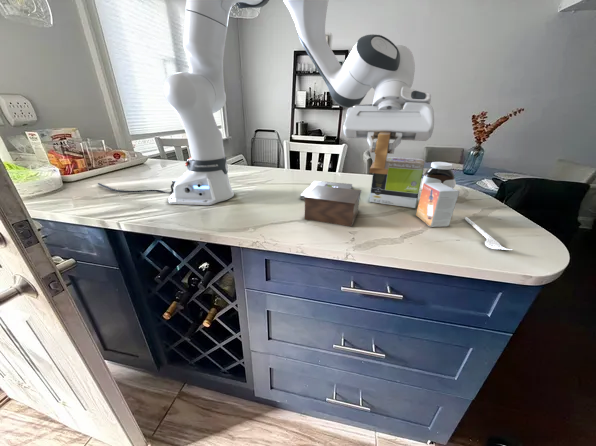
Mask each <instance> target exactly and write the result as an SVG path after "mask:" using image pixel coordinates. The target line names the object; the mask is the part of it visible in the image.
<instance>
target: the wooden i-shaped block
mask: <svg viewBox="0 0 596 446" xmlns="http://www.w3.org/2000/svg"><path fill="white" fill-rule="evenodd" d="M390 136H391V132H380V133H379V134H378V139H376V148H375V153H374V161H372V163H371V166H370V167H369V174H373V173H376V174H388V169H389V163H386V161H387V157H388V154H389V153H387V152H388V146H389V143H391V140H390Z"/></svg>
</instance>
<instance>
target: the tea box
mask: <svg viewBox="0 0 596 446" xmlns="http://www.w3.org/2000/svg"><path fill="white" fill-rule="evenodd" d="M386 163H389V169H388V174H376V173H372V179H371V184H370V185H371V186H370V194H369V202H370V203H375V204H381V205H390V206H397V207H405V208H410V209H416V208H417V204H418V202H417V201H418V200H419V199H418V198H419V193H420V190H421V189H420V188H421V185H422V181H423V176H424V169H425V158H418V157H417V158H416V157H402V156H401V157H399V156H387V161H386Z"/></svg>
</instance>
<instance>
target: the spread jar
mask: <svg viewBox="0 0 596 446" xmlns="http://www.w3.org/2000/svg"><path fill="white" fill-rule="evenodd" d="M453 165H454V164H453V163H450V162H446V161H432V162H431V164H430V167H429V168H428V169H426V171H425V172H424V173H423V175H422V180H421V189H422V188H423V184H424V183H443V184H444V185H446V186H449V187H451V188H453V189H455V187H456V185H457V182H456V179H455V173H454V172H453V170H452V169H453Z"/></svg>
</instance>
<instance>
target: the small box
mask: <svg viewBox="0 0 596 446" xmlns="http://www.w3.org/2000/svg"><path fill="white" fill-rule="evenodd" d="M459 194H460V190H458V189H455V188H451V187H449V186H446V185H444V184H443V183H424V184H423V188H422V187H421V191H420V196H419V199H418V200H419V201H418V203H417V207H416V208H417V209H416V213H415V217H417V218H419V219H420V220H421V221H422V222H423V223H425V224H426V225H427V226H428V227H429V228H439V227H440V228H441V227H443V228H444V227H449V226H450V224H451V220H452V217H453V214H454V210H455V207H456V204H457V200H458V198H459Z"/></svg>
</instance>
